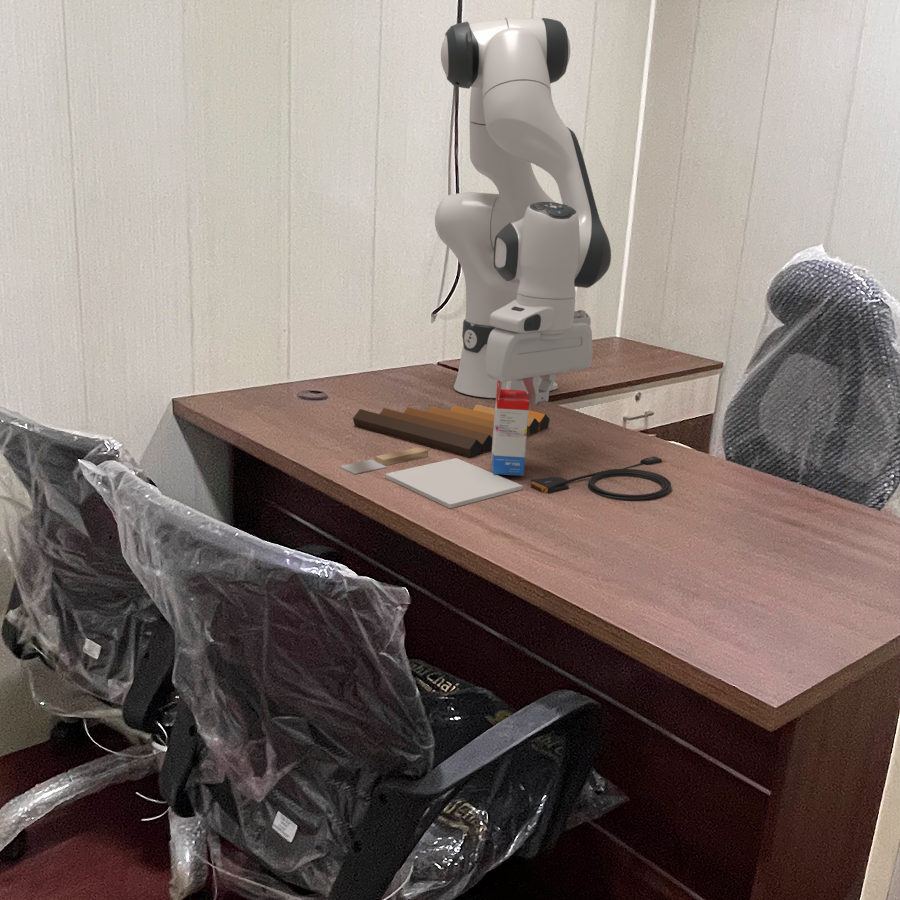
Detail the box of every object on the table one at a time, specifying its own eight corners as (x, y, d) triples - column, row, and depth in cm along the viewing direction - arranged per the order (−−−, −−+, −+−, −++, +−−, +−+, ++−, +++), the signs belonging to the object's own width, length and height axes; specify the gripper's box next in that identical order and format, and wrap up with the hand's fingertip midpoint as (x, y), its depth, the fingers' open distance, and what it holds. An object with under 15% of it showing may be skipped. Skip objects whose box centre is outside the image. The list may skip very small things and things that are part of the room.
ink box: (524, 476, 144) (532, 380, 141) (491, 474, 144) (499, 378, 141) (520, 462, 153) (528, 371, 149) (490, 460, 153) (497, 369, 149)
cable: (722, 486, 148) (723, 477, 148) (590, 519, 132) (591, 508, 132) (656, 461, 159) (657, 452, 158) (526, 489, 143) (527, 479, 142)
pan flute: (352, 429, 167) (469, 461, 154) (353, 410, 166) (470, 441, 153) (438, 403, 187) (548, 430, 173) (439, 386, 186) (550, 412, 172)
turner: (416, 452, 156) (416, 445, 155) (431, 459, 153) (432, 452, 152) (339, 468, 146) (339, 461, 146) (354, 476, 143) (354, 468, 143)
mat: (455, 461, 152) (456, 458, 151) (522, 489, 141) (522, 485, 141) (384, 477, 143) (384, 473, 143) (450, 508, 132) (450, 504, 132)
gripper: (575, 306, 154) (568, 389, 158) (481, 315, 141) (476, 406, 145) (605, 312, 149) (597, 398, 153) (511, 322, 136) (504, 416, 140)
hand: (537, 402), depth 149 cm, fingers closed
